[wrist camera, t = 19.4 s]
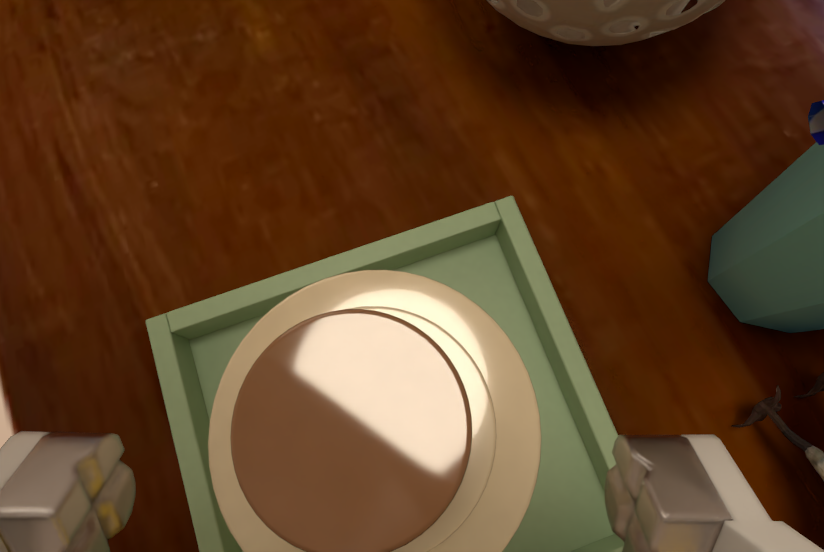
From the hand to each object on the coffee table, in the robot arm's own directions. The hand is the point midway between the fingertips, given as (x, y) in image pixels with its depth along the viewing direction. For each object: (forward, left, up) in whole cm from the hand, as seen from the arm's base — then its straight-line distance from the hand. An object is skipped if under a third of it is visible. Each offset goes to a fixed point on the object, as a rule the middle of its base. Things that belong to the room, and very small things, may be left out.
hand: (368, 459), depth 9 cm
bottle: (0, +1, -12) cm, 12 cm away
